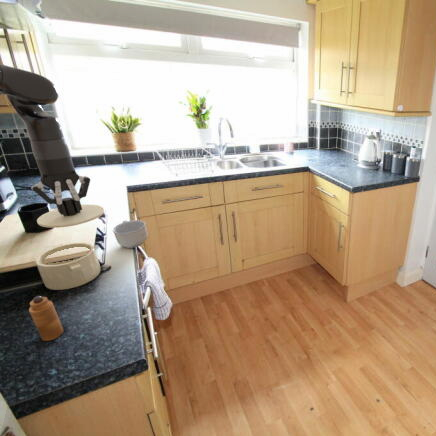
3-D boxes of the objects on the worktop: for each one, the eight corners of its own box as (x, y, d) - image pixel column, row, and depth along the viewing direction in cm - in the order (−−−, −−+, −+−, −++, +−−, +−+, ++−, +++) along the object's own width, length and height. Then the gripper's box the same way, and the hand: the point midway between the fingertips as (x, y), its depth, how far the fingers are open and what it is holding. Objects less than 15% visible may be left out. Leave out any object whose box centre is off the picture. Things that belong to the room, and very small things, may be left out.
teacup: (150, 247, 122) (146, 228, 119) (117, 253, 117) (112, 234, 114) (147, 232, 133) (143, 215, 130) (117, 238, 128) (112, 220, 124)
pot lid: (46, 235, 84) (38, 214, 81) (32, 218, 93) (24, 199, 90) (112, 217, 95) (107, 198, 93) (94, 204, 104) (89, 186, 102)
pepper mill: (43, 343, 78) (26, 305, 73) (39, 334, 81) (22, 297, 76) (65, 333, 81) (50, 296, 76) (61, 325, 84) (46, 288, 79)
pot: (54, 300, 93) (44, 275, 89) (37, 273, 104) (28, 251, 101) (110, 278, 103) (103, 256, 100) (89, 256, 115) (83, 235, 111)
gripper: (22, 162, 79) (45, 224, 86) (87, 153, 89) (103, 210, 96) (15, 157, 83) (38, 217, 91) (78, 149, 93) (94, 204, 101)
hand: (71, 213), depth 93 cm, fingers closed on pot lid, 2 cm apart
